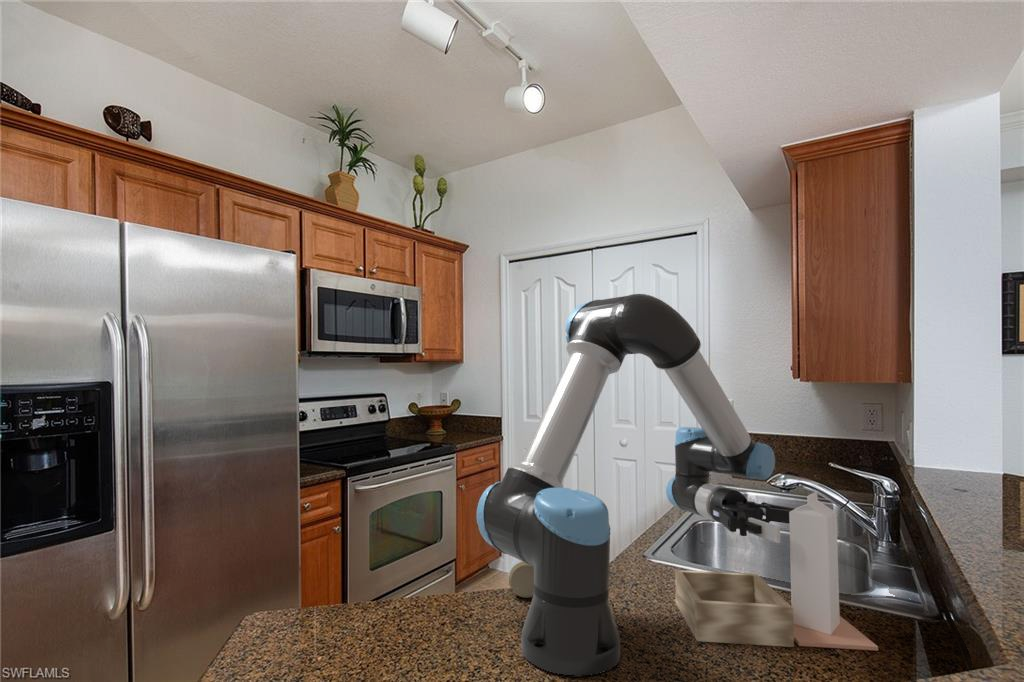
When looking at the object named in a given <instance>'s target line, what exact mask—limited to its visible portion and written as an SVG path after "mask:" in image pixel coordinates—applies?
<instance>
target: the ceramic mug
mask: <svg viewBox="0 0 1024 682" xmlns="http://www.w3.org/2000/svg"><path fill="white" fill-rule="evenodd" d="M508 566H509V567H508V573H507V574H508V575H507V581H508V584H509V587H510V589H511V592H512V593H514V594H515V595H516V596H518V597H521V598H523V599H533V593H534V566H532V565H530V564H527V563H525V562H523V561H521V560H519V559H517V558H515V557H513V556H511V558H510V561H509V565H508ZM514 588H520V589H514ZM512 589H513V590H512Z"/></svg>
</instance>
